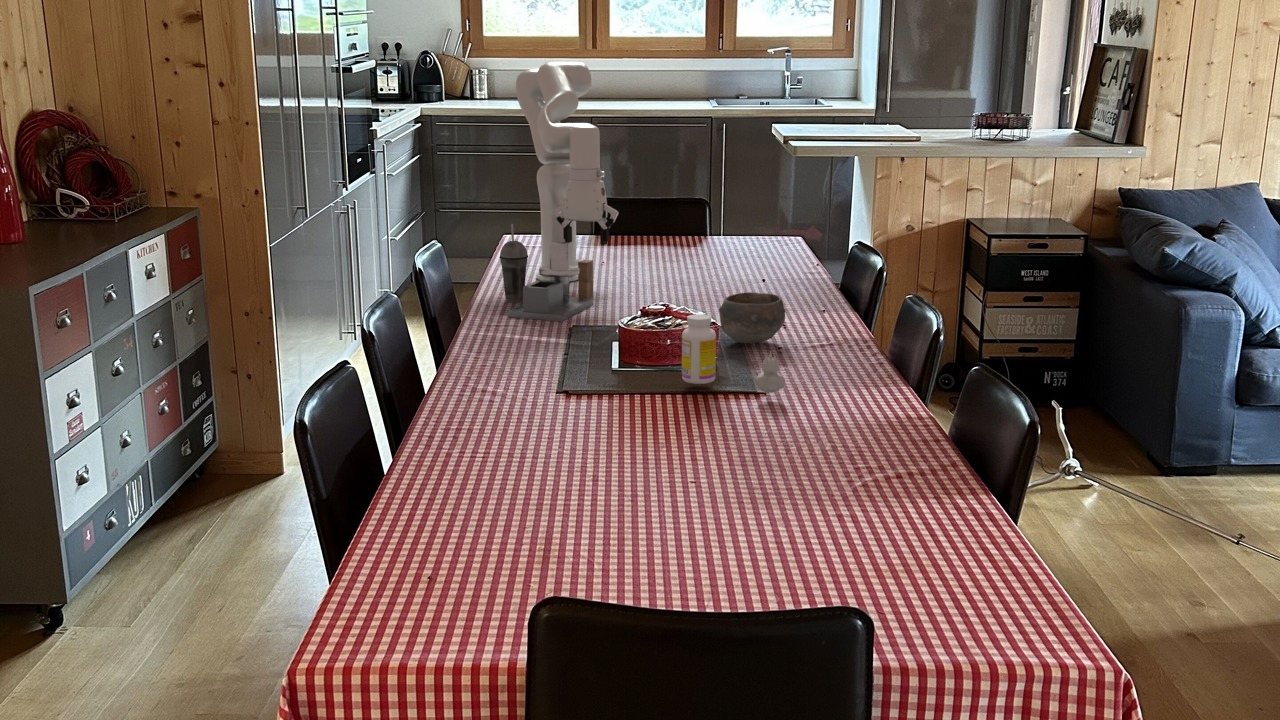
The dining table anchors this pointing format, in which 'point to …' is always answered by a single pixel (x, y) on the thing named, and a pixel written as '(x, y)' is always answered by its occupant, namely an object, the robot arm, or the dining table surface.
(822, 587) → the dining table surface
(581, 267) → the brown wooden block
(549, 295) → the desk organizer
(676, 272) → the dining table surface
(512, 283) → the beverage cup
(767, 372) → the gourd
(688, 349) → the supplement bottle
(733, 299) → the bowl
